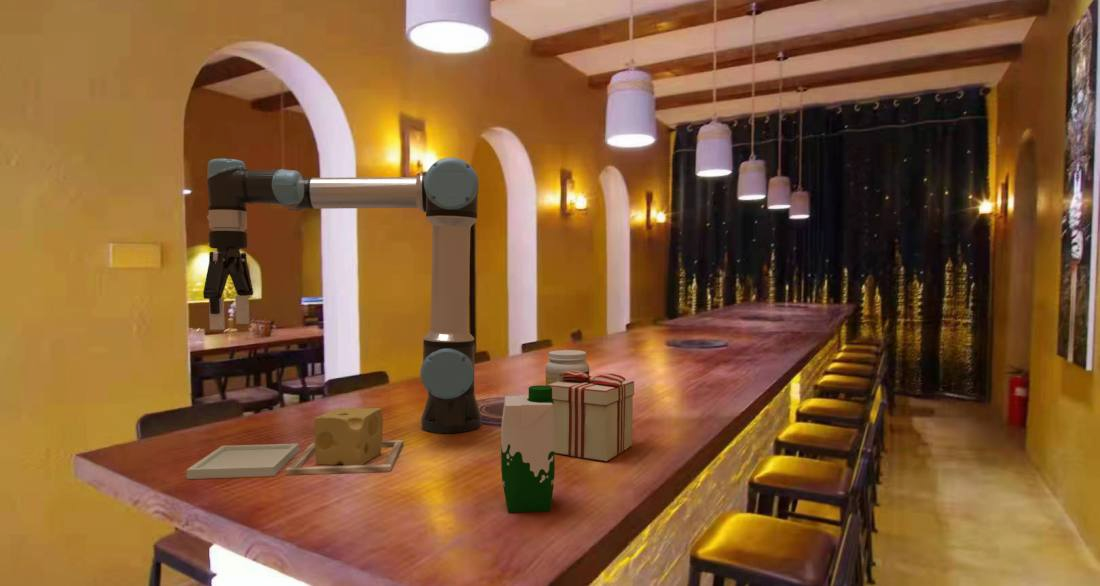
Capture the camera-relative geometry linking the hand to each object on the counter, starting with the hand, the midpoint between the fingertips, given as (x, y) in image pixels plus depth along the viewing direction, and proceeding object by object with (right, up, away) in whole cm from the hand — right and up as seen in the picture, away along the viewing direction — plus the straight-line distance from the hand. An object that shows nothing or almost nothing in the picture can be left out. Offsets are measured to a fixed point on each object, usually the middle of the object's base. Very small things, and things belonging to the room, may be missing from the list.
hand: (230, 326), depth 139 cm
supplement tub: (+76, -26, +34) cm, 87 cm away
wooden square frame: (+29, -28, -7) cm, 40 cm away
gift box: (+80, -27, +1) cm, 85 cm away
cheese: (+29, -28, -7) cm, 41 cm away
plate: (+9, -28, -11) cm, 31 cm away
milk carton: (+67, -29, -32) cm, 80 cm away
